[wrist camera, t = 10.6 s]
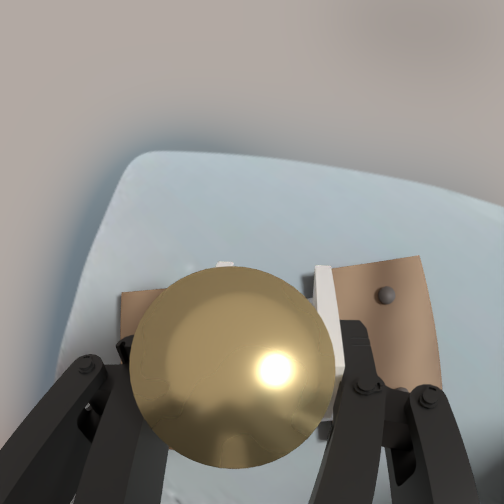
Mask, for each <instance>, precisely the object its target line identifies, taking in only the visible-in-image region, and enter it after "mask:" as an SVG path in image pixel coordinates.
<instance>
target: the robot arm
mask: <svg viewBox="0 0 504 504" xmlns="http://www.w3.org/2000/svg"><path fill="white" fill-rule="evenodd" d="M226 266H234V265H233V262H219V261H218V263H217V264H216V266H215V267H226ZM312 305H313V306H314V308H315V309H316V311H317V312H318V314H319V315H320V317H321V318H322V320H323V322H324V324H325V326H326V328H327V330H328V333H329V336H330V339H331V342H332V345H333V350H334V356H335V370H336V374H335V383H334V389H333V393H332V397H331V401H330V403H329V406H328V408H327V411H326V413H325V415H324V417H323V418H331V416H332V413H333V423H332V426H331V429H330V432H329V435H328V438H327V439H328V441H327V445H326V449H325V452H324V456H323V459H322V463H321V466H320V469H319V473H318V476H317V479H316V482H315V485H314V488H313V491H312V494H311V497H310V500H309V503H308V504H372V501H373V496H374V491H375V485H376V480H377V474H378V467H379V461H380V453H381V446H382V447H385V453H386V459H387V466H388V473H389V480H390V488H391V497H392V504H480V502H479V498H478V493H477V489H476V485H475V481H474V477H473V473H472V470H471V466H470V463H469V459H468V456H467V453H466V450H465V446H464V443H463V440H462V437H461V434H460V431H459V429H458V426H457V423H456V420H455V418H454V415H453V412H452V410H451V407H450V404H449V402H448V399H447V397H446V395H445V394H444V392H443V391H442V390H441V389H440V388H438V387H437V386H434V385H431V384H422V385H419V386H416V387H415V388H414V389H413V390H412V391H411V393H409V392H404V391H399V390H395V389H392V388H390V387H388V386H386V385H385V383H384V381H383V380H382V379H381V378H380V377H379V376H378V375H377V372H376V367H375V362H374V357H373V353H372V349H371V346H370V345H371V344H370V340H369V336H368V332H367V328H366V327H365V326H364V324H363V323H362V322H361V321H360V320H339V314H338V307H337V300H336V294H335V287H334V281H333V275H332V269H331V266H323V265H315V274H314V288H313V301H312ZM133 338H134V335H130V336H127V337H124V338H123V339H121V340H120V341H119V342H118V343H117V344H116V348H117V351H118V353H119V356H120V358H121V361H122V363H123V364H120V365H104V364H103V361H102V360H101V358H100V357H98V356H97V355H92V354H89V355H84V356H81V357H79V358H78V359H77V360H75V361H74V362H73V363H72V364H71V365H70V367H69V368H68V369H67V370H66V371H65V372H64V373H63V374H62V376H61V377H60V378H59V379H58V380H57V381H56V382H55V384H54V385H53V386H52V387H51V388H50V390H49V391H48V392H47V393H46V394H45V395H44V397H43V398H42V399H41V400H40V401H39V402H38V404H37V405H36V406H35V407H34V408H33V410H32V411H31V412H30V413H29V414H28V416H27V417H26V418H25V419H24V421H23V422H22V423H21V424H20V426H19V427H18V428H17V429H16V431H15V432H14V433H13V434H12V436H11V437H10V438H9V439H8V441H7V442H6V443H5V445H4V446H3V447H2V449H1V450H0V504H70V502H71V501H72V499H73V497H74V496H75V494H76V496H75V500H74V503H73V504H160V502H161V495H162V488H163V481H164V474H165V468H166V462H167V455H168V449H169V446H168V445H167V444H166V443H165V442H163V441H162V440H161V439H160V438H159V437H158V436H157V435H156V433H155V432H154V431H153V430H152V429H151V428H150V426H149V425H148V423H147V422H146V420H145V419H144V417H143V415H142V413H141V412H140V410H139V408H138V405H137V403H136V400H135V397H134V394H133V390H132V386H131V380H130V371H129V366H130V352H131V345H132V342H133ZM88 402H89V404H90V406H89V407H88V408H87V409H85V406H86V405H87V404H88ZM76 492H77V493H76Z"/></svg>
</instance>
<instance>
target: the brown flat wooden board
mask: <svg viewBox="0 0 504 504" xmlns="http://www.w3.org/2000/svg"><path fill="white" fill-rule="evenodd" d="M332 275H333V281H334V287H335V294H336V300H337V307H338V314H339V320H360V321H361V322H362V323H363V324H364V326H365V327H366V328H367V332H368V336H369V340H370V344H371V345H370V346H371V349H372V353H373V357H374V362H375V367H376V372H377V375H378V376H379V377H380V378H381V379H382V380H383V381H384V383H385V385H386V386H388V387H390V388H392V389H395V390H399V391H404V392H409V393H411V391H412V390H413V389H414V388H415V387H416V386H419V385H422V384H431V385H434V386H437V387H438V388H440V389H441V390H442V379H441V368H440V359H439V351H438V343H437V336H436V330H435V324H434V318H433V313H432V307H431V302H430V298H429V293H428V288H427V284H426V280H425V275H424V271H423V267H422V263H421V260H420V256H419V255H418V256H412V257H406V258H400V259H393V260H387V261H380V262H374V263H367V264H360V265H353V266H347V267H340V268H332ZM166 289H167V288H165V289H155V290H144V291H134V292H122V295H121V329H120V340H121V339H123V338H124V337H127V336H130V335H135V332H136V329H137V327H138V325H139V322H140V320H141V319H142V317H143V315H144V313H145V312H146V310H147V309H148V308H149V306H150V305H151V304H152V302H153V301H154V300H155V299H156V298H157V297H158V296H159V295H160V294H161V293H162V292H163V291H164V290H166ZM307 300H308V301H309V302H310V303H311V304H312V301H313V298H308V299H307ZM121 364H123V363H122V361H121ZM329 420H332V423H333V413H332V416H331V418H322V420H321V422H323V421H329ZM169 449H171V450H174V449H172V448H171V447H169Z"/></svg>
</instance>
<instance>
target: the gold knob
mask: <svg viewBox="0 0 504 504" xmlns="http://www.w3.org/2000/svg"><path fill="white" fill-rule="evenodd" d="M129 371H130V380H131V386H132V390H133V394H134V397H135V400H136V403H137V405H138V408H139V410H140V412H141V413H142V415H143V417H144V419H145V420H146V422H147V423H148V425H149V426H150V428H151V429H152V430H153V431H154V432H155V433H156V435H157V436H158V437H159V438H160V439H161V440H162V441H163V442H165V443H166V444H167V445H168V446H169V447H171V448H172V449H174V450H175V451H176V452H178V453H180V454H181V455H183V456H185V457H187V458H189V459H191V460H193V461H196V462H199V463H202V464H204V465H208V466H213V467H218V468H228V469H240V468H250V467H256V466H261V465H264V464H267V463H270V462H273V461H275V460H277V459H279V458H281V457H283V456H285V455H287V454H289V453H290V452H291V451H293V450H294V449H296V448H297V447H299V446H300V445H301V444H302V443H303V442H304V441H305V440H306V439H307V438H308V437H309V436H310V435H311V434H312V433H313V431H314V430H315V429H316V428H317V426H318V425H319V423H320V422H321V420H322V418H323V417H324V415H325V413H326V411H327V408H328V406H329V403H330V401H331V397H332V393H333V389H334V383H335V374H336V370H335V356H334V350H333V345H332V342H331V339H330V336H329V333H328V330H327V328H326V326H325V324H324V322H323V320H322V318H321V317H320V315H319V314H318V312H317V311H316V309H315V308H314V306H313V305H312V304H311V303H310V302H309V301H308V300H307V299H306V297H305V296H304V295H302V294H301V293H300V292H299V291H298V290H296V289H295V288H294V287H293V286H291V285H290V284H288V283H287V282H285V281H283V280H282V279H280V278H278V277H276V276H273V275H271V274H269V273H266V272H263V271H260V270H257V269H251V268H246V267H236V266H226V267H215V268H210V269H205V270H202V271H198V272H195V273H192V274H190V275H188V276H186V277H184V278H182V279H180V280H178V281H177V282H175V283H174V284H172V285H171V286H169V287H168V288H167V289H166V290H164V291H163V292H162V293H161V294H160V295H159V296H158V297H157V298H156V299H155V300H154V301H153V302H152V304H151V305H150V306H149V308H148V309H147V310H146V312H145V313H144V315H143V317H142V319H141V320H140V322H139V325H138V327H137V329H136V332H135V335H134V338H133V342H132V345H131V352H130V366H129Z"/></svg>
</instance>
